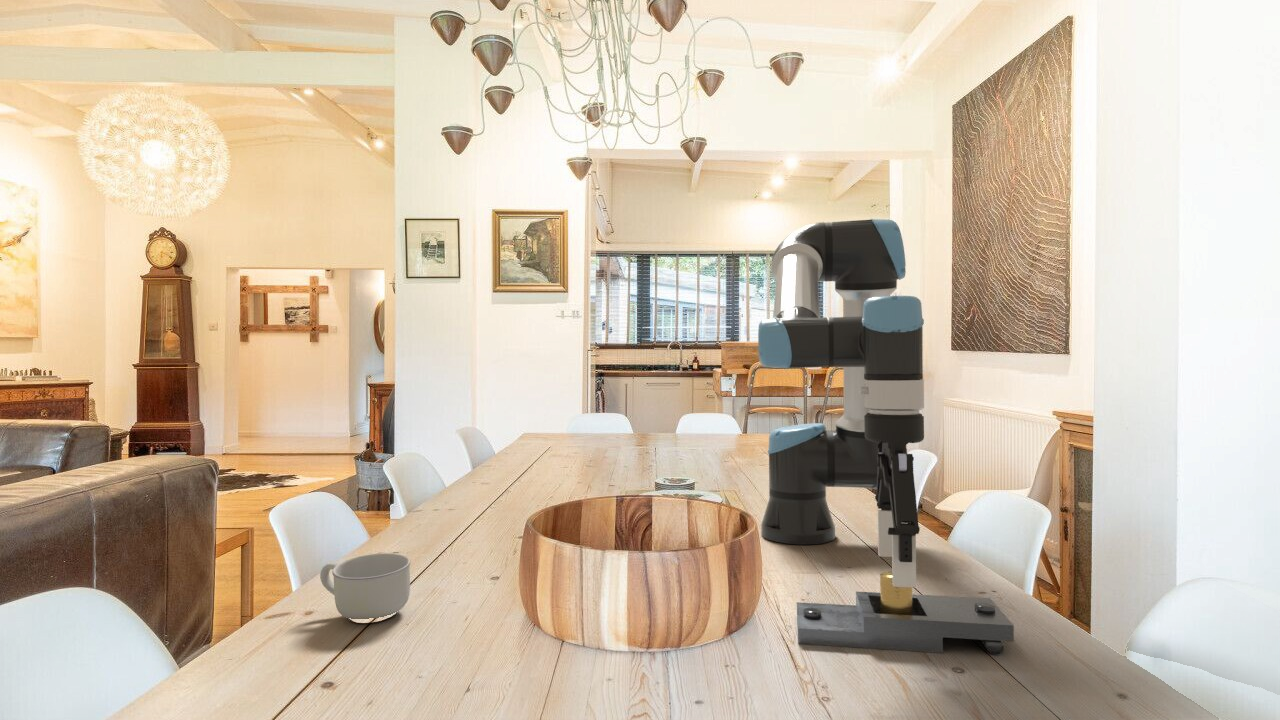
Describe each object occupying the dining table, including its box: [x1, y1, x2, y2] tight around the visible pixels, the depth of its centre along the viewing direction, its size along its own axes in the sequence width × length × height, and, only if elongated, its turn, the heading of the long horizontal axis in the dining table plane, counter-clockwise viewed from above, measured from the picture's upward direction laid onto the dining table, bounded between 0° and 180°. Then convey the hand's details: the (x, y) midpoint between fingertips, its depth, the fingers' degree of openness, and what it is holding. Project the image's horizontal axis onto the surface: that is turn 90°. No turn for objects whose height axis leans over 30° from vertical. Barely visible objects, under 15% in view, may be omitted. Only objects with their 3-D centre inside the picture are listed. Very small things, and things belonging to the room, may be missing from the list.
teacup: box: [319, 552, 411, 619], centre depth 105 cm, size 14×11×8 cm
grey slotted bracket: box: [796, 591, 1015, 656], centre depth 94 cm, size 10×26×5 cm, turn 78°
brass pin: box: [879, 570, 913, 615], centre depth 94 cm, size 4×4×8 cm
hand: (895, 570), depth 94 cm, fingers open, 13 cm apart
